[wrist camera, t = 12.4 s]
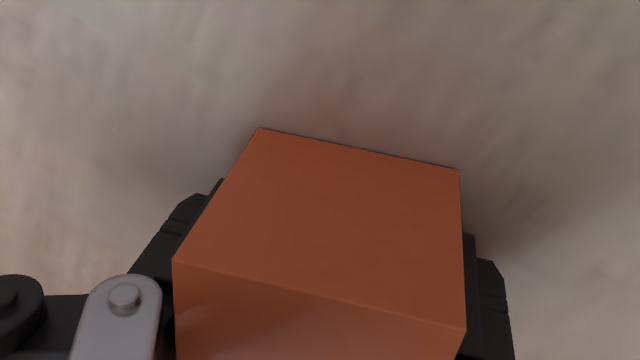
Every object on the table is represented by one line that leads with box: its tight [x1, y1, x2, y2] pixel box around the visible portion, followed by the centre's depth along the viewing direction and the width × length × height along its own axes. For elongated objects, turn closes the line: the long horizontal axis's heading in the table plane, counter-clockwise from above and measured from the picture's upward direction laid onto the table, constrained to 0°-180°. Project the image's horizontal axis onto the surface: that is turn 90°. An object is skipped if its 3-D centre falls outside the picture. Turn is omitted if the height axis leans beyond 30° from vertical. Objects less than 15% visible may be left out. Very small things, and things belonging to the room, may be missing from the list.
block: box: [172, 128, 467, 360], centre depth 11 cm, size 5×5×5 cm
